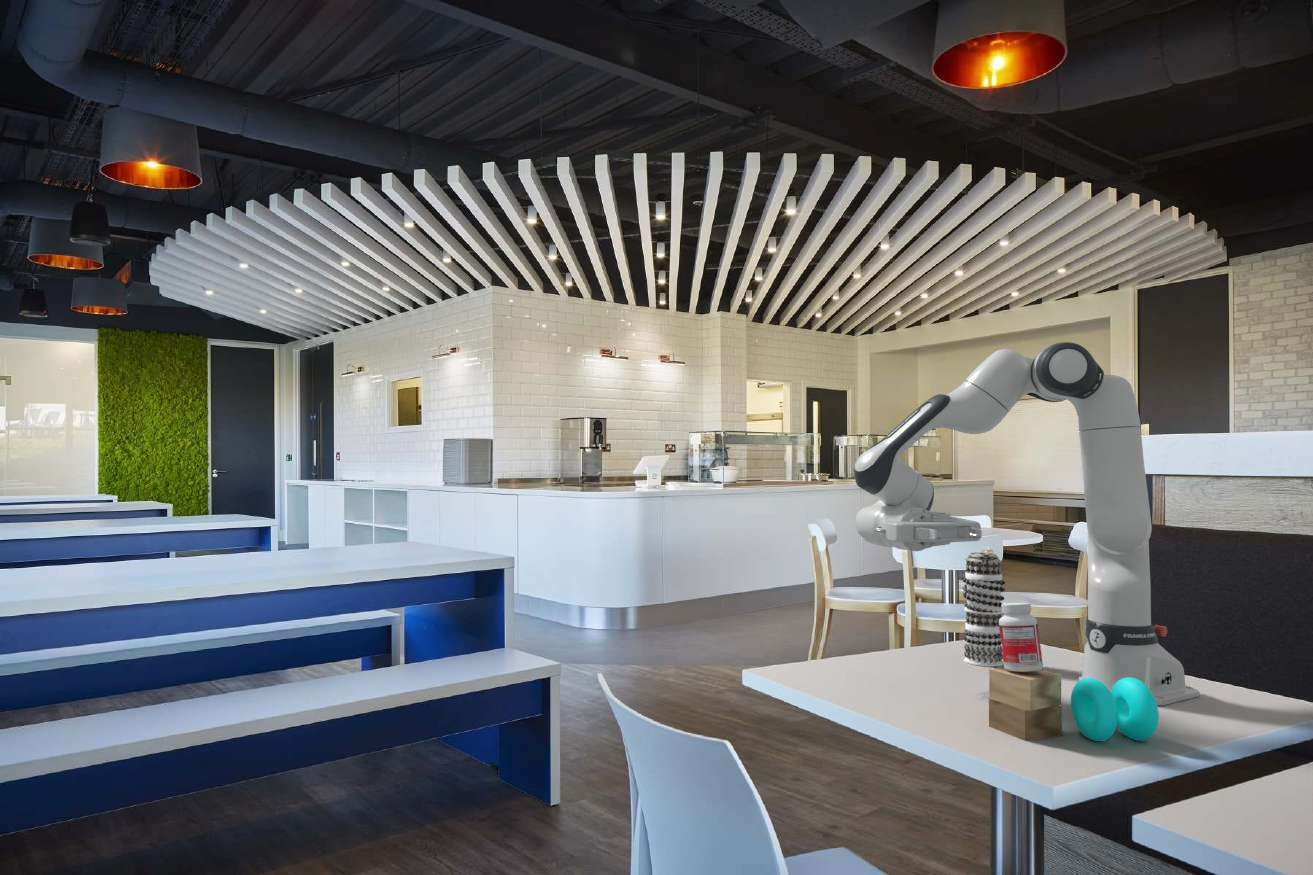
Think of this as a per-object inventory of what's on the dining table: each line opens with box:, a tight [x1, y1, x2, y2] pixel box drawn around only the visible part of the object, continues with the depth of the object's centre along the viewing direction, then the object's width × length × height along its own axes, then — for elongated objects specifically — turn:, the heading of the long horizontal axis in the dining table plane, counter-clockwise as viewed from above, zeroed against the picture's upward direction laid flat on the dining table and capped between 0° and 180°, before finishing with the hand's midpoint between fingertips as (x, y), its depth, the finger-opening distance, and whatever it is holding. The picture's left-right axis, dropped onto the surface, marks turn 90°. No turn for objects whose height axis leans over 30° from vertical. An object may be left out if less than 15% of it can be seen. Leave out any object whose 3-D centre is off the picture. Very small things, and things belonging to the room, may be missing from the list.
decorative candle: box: [962, 552, 1006, 668], centre depth 192 cm, size 9×9×25 cm
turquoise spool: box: [1070, 677, 1160, 742], centre depth 137 cm, size 10×10×10 cm
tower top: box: [988, 666, 1062, 711], centre depth 141 cm, size 8×8×5 cm
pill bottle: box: [999, 602, 1044, 672], centre depth 142 cm, size 6×6×11 cm
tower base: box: [988, 698, 1063, 742], centre depth 141 cm, size 8×8×5 cm
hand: (958, 534), depth 157 cm, fingers open, 8 cm apart
